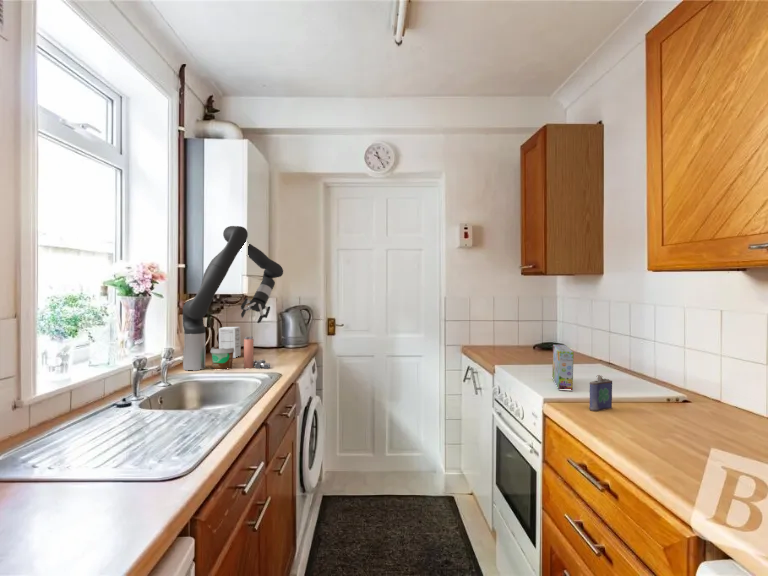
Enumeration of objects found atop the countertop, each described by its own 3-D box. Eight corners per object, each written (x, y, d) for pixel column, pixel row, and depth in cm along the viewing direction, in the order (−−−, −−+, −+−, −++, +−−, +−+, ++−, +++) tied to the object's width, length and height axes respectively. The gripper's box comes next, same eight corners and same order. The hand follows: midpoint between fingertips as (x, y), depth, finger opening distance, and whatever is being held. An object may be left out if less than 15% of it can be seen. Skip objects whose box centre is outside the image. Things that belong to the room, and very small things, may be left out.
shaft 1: (256, 366, 204) (256, 360, 204) (251, 366, 205) (251, 360, 205) (265, 364, 210) (265, 358, 210) (260, 364, 211) (260, 358, 211)
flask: (594, 412, 128) (594, 377, 128) (586, 409, 131) (586, 375, 131) (614, 408, 132) (614, 375, 132) (605, 406, 135) (605, 373, 135)
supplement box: (241, 355, 237) (241, 326, 237) (235, 358, 228) (235, 328, 228) (224, 355, 237) (224, 326, 237) (218, 358, 228) (218, 328, 228)
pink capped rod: (242, 368, 200) (242, 337, 200) (248, 366, 204) (248, 336, 204) (248, 368, 198) (248, 337, 198) (255, 367, 202) (255, 336, 202)
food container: (204, 369, 196) (204, 348, 196) (213, 367, 202) (213, 346, 202) (226, 370, 193) (226, 349, 193) (234, 368, 199) (234, 347, 199)
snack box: (574, 392, 153) (574, 351, 153) (558, 391, 155) (558, 351, 155) (565, 380, 174) (565, 344, 174) (551, 379, 175) (551, 343, 175)
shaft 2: (254, 368, 199) (254, 362, 199) (257, 367, 202) (257, 361, 202) (267, 369, 198) (267, 362, 198) (270, 367, 201) (270, 361, 201)
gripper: (249, 286, 219) (236, 311, 209) (275, 295, 220) (263, 321, 211) (249, 293, 225) (236, 318, 215) (274, 302, 226) (263, 327, 217)
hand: (250, 319), depth 213 cm, fingers open, 8 cm apart
